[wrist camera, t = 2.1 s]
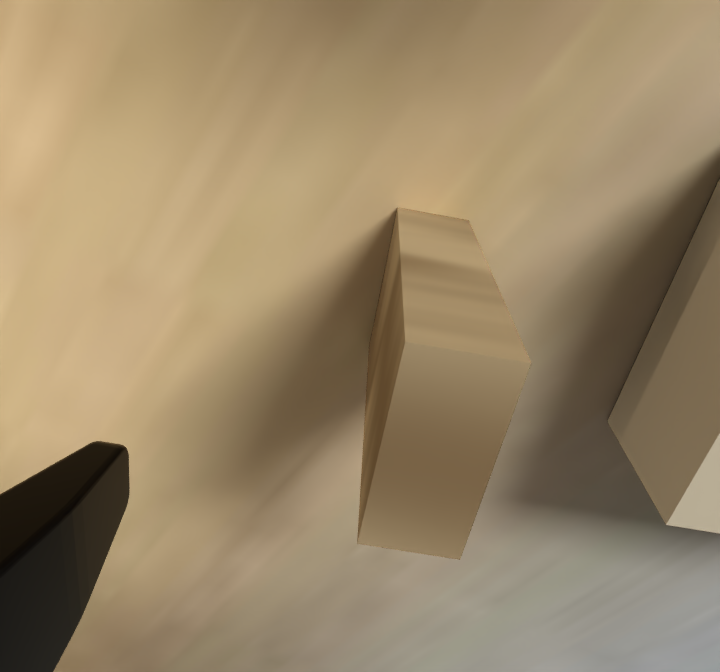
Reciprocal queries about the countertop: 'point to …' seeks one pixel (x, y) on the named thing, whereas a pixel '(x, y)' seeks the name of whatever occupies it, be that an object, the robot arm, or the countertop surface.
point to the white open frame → (680, 390)
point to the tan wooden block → (435, 388)
